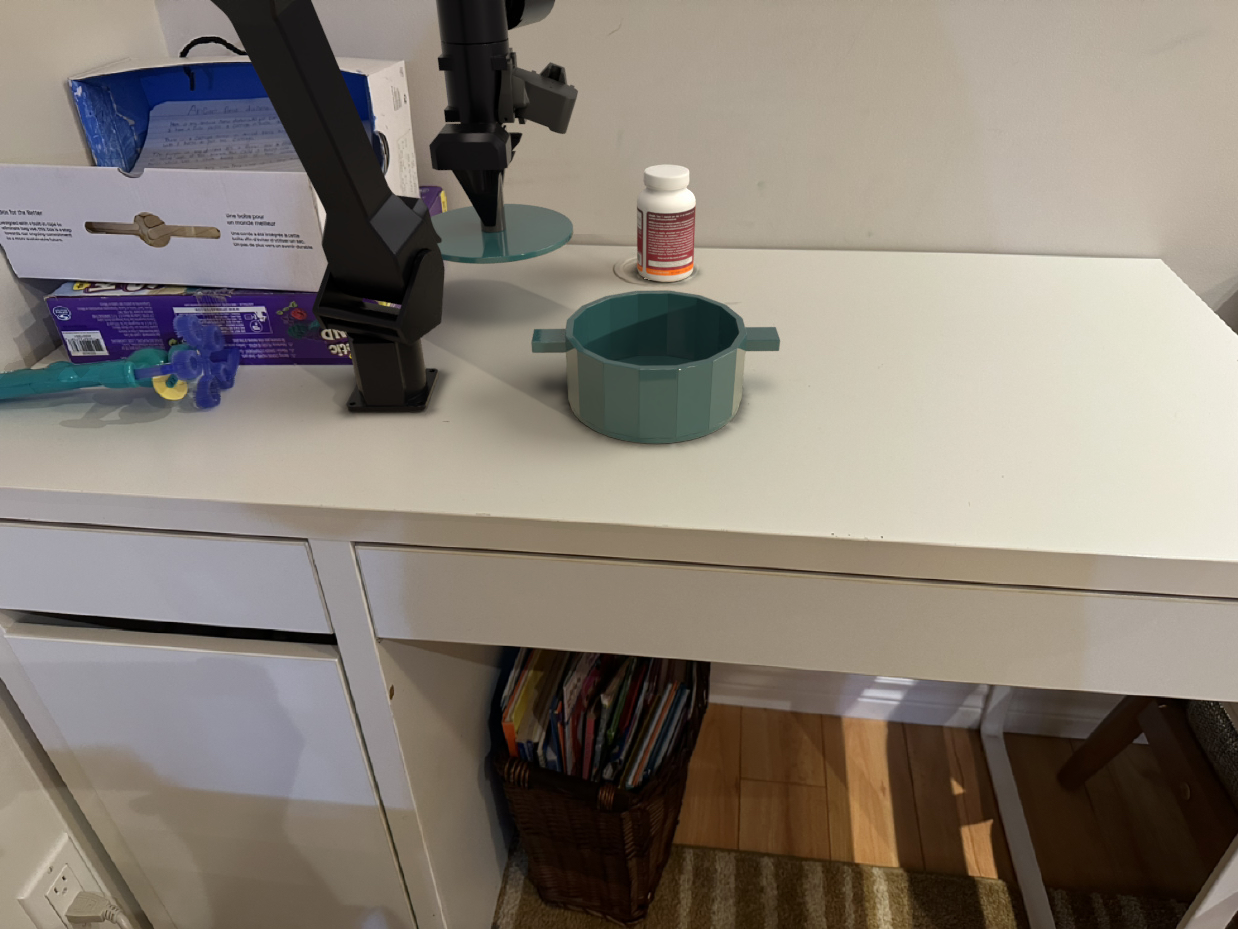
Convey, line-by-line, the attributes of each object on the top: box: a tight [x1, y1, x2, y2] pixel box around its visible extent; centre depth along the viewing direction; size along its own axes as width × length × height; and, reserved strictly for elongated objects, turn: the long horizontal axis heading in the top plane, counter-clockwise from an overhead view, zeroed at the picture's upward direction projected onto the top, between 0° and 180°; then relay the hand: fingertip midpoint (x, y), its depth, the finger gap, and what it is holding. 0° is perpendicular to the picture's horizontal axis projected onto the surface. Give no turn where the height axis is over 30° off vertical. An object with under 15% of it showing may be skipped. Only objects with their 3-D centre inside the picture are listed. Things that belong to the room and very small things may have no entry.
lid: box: [431, 175, 574, 265], centre depth 79 cm, size 15×15×6 cm
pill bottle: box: [636, 164, 697, 283], centre depth 89 cm, size 6×6×11 cm
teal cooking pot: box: [530, 289, 781, 445], centre depth 69 cm, size 14×20×6 cm
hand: (492, 221), depth 80 cm, fingers closed on lid, 2 cm apart
